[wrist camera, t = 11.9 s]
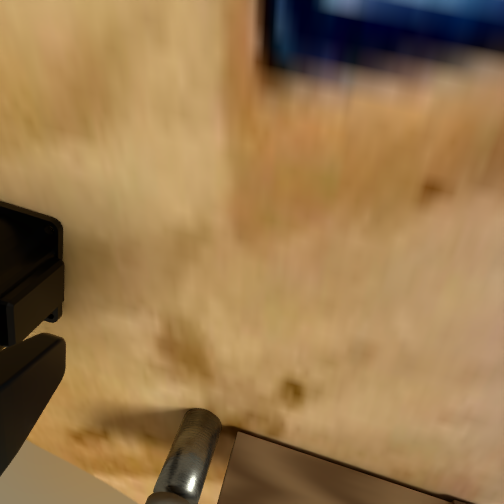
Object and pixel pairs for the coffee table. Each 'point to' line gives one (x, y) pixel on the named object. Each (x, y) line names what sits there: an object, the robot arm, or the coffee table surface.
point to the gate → (297, 480)
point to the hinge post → (190, 455)
